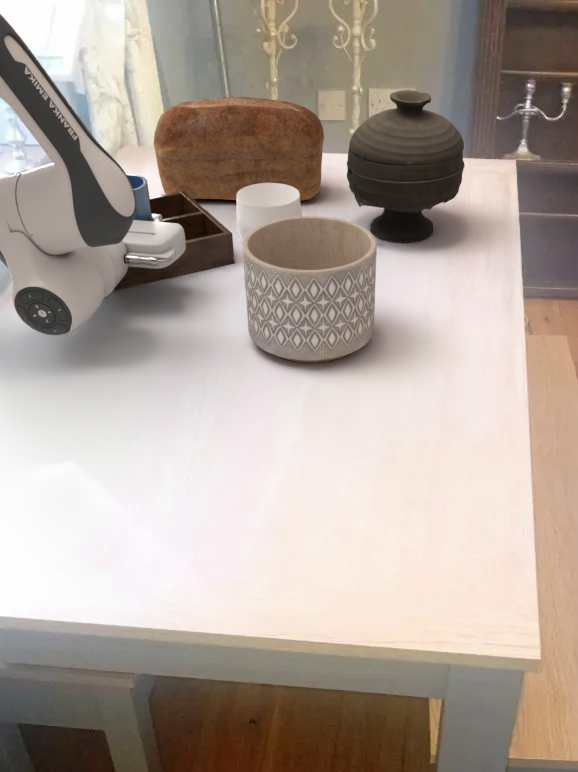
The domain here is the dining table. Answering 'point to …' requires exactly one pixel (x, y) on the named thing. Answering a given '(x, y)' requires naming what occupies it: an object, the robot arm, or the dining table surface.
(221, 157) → the bread
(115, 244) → the robot arm
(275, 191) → the cup
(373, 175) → the pot
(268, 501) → the dining table surface
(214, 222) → the cup rack
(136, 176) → the tumbler
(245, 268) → the planter
